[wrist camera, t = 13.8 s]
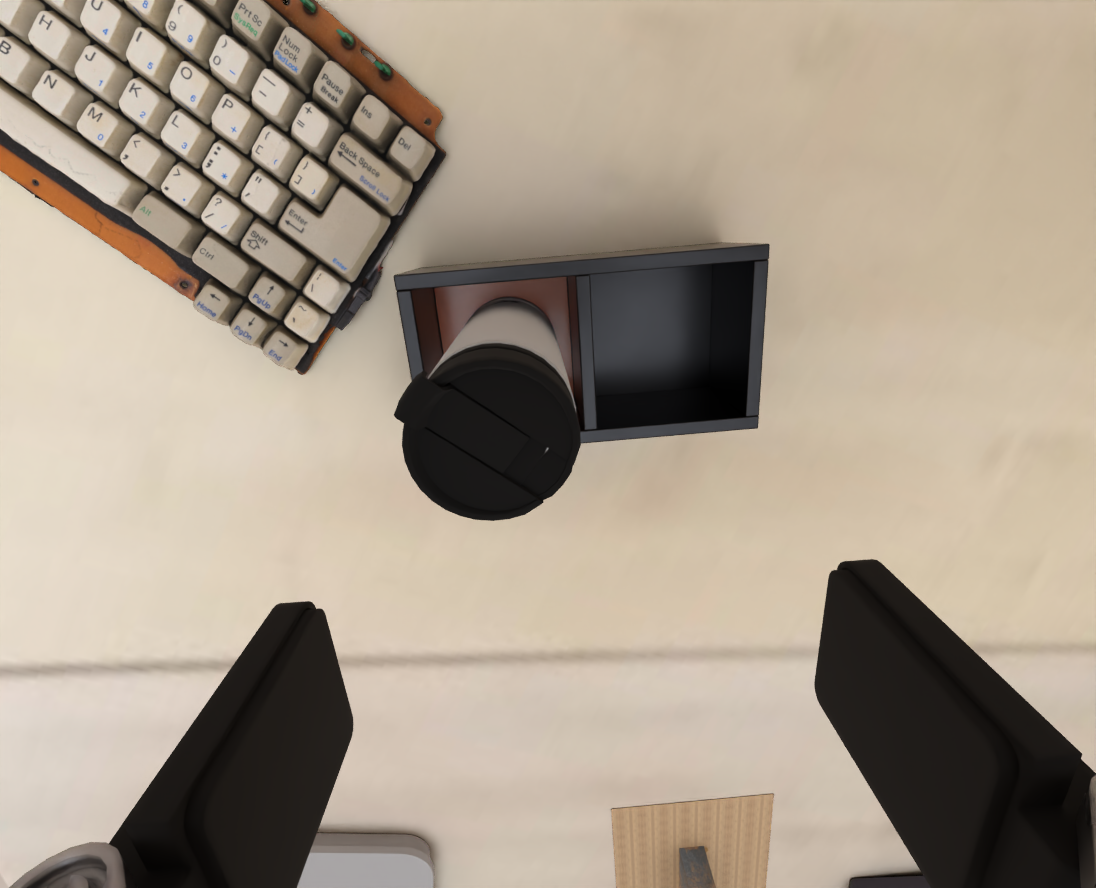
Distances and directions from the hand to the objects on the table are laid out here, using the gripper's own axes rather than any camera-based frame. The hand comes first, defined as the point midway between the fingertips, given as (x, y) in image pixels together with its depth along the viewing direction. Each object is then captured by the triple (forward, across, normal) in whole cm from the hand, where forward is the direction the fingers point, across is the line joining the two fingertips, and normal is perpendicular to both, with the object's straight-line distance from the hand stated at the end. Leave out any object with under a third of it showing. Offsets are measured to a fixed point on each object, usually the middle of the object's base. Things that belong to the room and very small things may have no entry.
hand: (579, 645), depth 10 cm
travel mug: (+29, +3, 0) cm, 29 cm away
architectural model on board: (+30, -11, +59) cm, 67 cm away
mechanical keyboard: (+30, +24, -18) cm, 42 cm away
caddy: (+30, -2, 0) cm, 30 cm away
